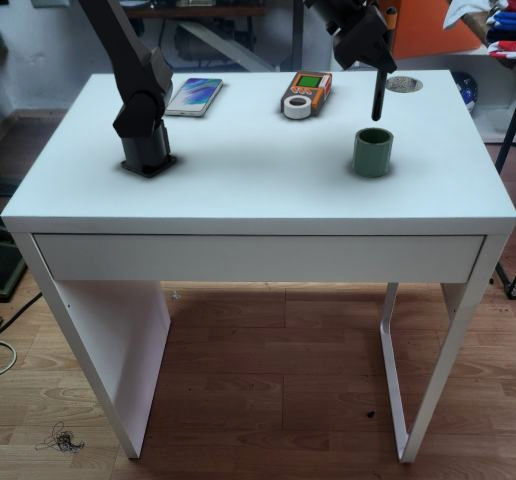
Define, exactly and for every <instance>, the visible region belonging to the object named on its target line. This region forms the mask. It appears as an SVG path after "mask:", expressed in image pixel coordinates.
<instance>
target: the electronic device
mask: <svg viewBox="0 0 516 480" xmlns="http://www.w3.org/2000/svg"><path fill="white" fill-rule="evenodd" d="M332 84H333V74H332V73H331V72H325V71H314V70H313V71H312V70H302V69H297V71H296V73H295V75H294V76H293V78H292V80H291V81H290V83H289V84H288V86H287V88H286V90H285V91H284V93H283V95H282V97H281V99H280V113H283V114H284V115H285V116H286V117H288V118H289V119H295V120H296V119H299V120H300V119H304V118H307V117H318V114H319V112H320V111H321V109H322V106H323V105H324V103H325V102H326V100H327V97H328V96H329V93H330V91H331V87H332Z"/></svg>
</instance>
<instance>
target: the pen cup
mask: <svg viewBox="0 0 516 480" xmlns="http://www.w3.org/2000/svg"><path fill="white" fill-rule="evenodd" d="M394 138H395V136H394V134H393V133H392V132H391V131H389V130H388V129H385V128H381V127H375V126H374V127H364V128H361V129H359V130H357V132H356V133H355V136H354V144H353V151H352V160H351V170H352V171H353V172H354V173H355V174H356V175H358V176H361V177H365V178H379V177H382V176H384V175H385V174H387V173H388V171H389V167H390V166H389V165H390V162H391V161H390V160H391V156H392V149H393V144H394Z"/></svg>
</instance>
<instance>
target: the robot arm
mask: <svg viewBox="0 0 516 480" xmlns="http://www.w3.org/2000/svg"><path fill="white" fill-rule="evenodd" d="M76 1H77V4H78V5H79V6H80V8H81V10H82V12H83V13H84V15H85V17H86V19H87V20H88V22H89V24H90V26H91V28H92V29H93V31H94V33H95V35H96V36H97V38H98V40H99V41H100V43H101V46H102V47H103V49H104V50H105V52H106V54H107V56H108V57H109V60H110V63H111V67H112V73H113V76H114V80H115V86H116V89H117V91H118V94H119V96H120V99H121V101H122V103H123V104H122V106H121V107H120V109H119V111H118V112H117V115H116V116H115V118H114V120H113V122H112V128H113V129H114V131H115V132H116V135H117V136H118V137H119V138H120V141H121V144H122V149H123V153H124V157H125V159H124V160H122V161H121V162H120V166H121V167H122V168H124V169H126V170H129V171H131V172H133V173H136V174H138V175H141V176H143V177H146V178H151V177H154V176H155V175H157V174H159V173H160V172H161V171H163V170H165V169H166V168H168V167H170V166H172V165H174V164H175V163H176V162H178V157H177V156H176V155H173V154H171V145H170V140H169V134H168V128H167V127H166V125H165V120H164V118H163V117H164V115H166V113H165V111H166V109H167V106H168V105H169V103H170V102H171V100H172V96H173V90H174V83H173V80H172V79H173V76H174V72H173V70H171V69H170V68H169V66H168V64H167V63H166V60H165V58H164V55H163V52H162V50H161V48H160V46H156V47H154V48H153V49H152V50H150V49H149V48H148V47H147V46H146V45H145V44H144V43H143V42H142V41H141V40H140V39H139V37H138V35H137V33H136V31H135V30H134V28H133V25H132V24H131V22H130V20H129V18H128V16H127V14H126V12H125V10H124V8H123V7H122V4H121V2H120V0H76ZM367 1H368V0H302V3H303V5H304V6H305V7H306V8H307V9H308V10H310V9H312V10H313V12H314V13H315V14H316V15H317V16H318V17H319V18H320V20H321V21H322V22H323V23H324V27H325V31H326V32H327V33H328V34H329V36H330V37H332V36H333V40H332V52H333V58H334V61H335V62H336V63H337V64H338V65H339V66H340V68H341V69H342V70H343V71H347V70H349V69H350V68H351V67H352V66H353V65H354V64H356V62H358V63H361V64H364V65H366V66H369V67H372V68H375V69H377V70H378V69H379V70H382V71H384V72H387V73H388V74H389V75H392V74H394V73H395V72H396V71H397V70H398V66H397V63H396V61H395V58H394V55H393V53H392V52H391V53H390V51H389V49H388V47H387V45H386V43H385V41H384V39H383V37H382V36H383V35H384V33H385V32H386V30H387V29H388V27H387V24H386V22H385V20H384V16H385V15H384V13H383V11H380V3H379V0H372V1H371V2H370V3H369V4H367V5H366V4H365V3H366V2H367ZM338 30H339V31H338ZM335 33H336V34H335Z"/></svg>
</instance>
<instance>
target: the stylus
mask: <svg viewBox="0 0 516 480" xmlns="http://www.w3.org/2000/svg"><path fill="white" fill-rule="evenodd" d="M383 16H384V20H385V22H386V24H387V27H388V29H387V30H386V32H385V33H384V35H383V36H382V37H383V39H384V41H385V43H386V45H387V47H388V49H389V51H390V53H391V54H392V47H393V42H394V41H393V40H394V34H395V29H396V25H397V24H396V23H397V17H398V11H397V9H396V8H395V7H394V6H390V7H388V8H387V9H386V10H385V12H384V15H383ZM388 74H389V73H387V72H384V71H382V70H379V69H377V71H376V78H375V84H374V85H375V86H374V92H373V93H374V94H373V100H372V108H371V113H370V114H371V115H370V119H371V120H372V121H373V122H378V121H380V120H381V118H382V113H383V106H384V101H385V94H386V88H387V87H386V86H387V81H388Z"/></svg>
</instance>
